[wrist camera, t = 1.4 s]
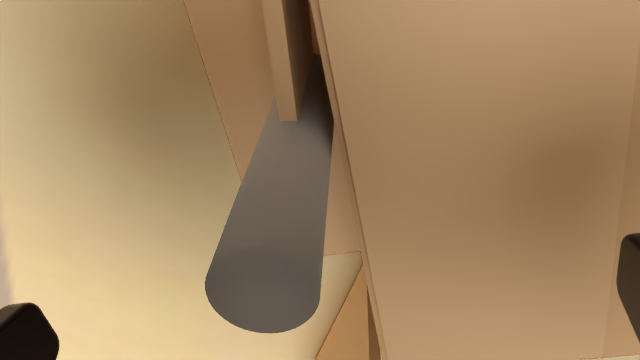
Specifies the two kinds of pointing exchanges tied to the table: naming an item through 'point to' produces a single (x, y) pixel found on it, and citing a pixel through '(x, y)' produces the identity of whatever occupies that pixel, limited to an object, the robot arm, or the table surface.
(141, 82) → the table surface
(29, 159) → the table surface
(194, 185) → the table surface
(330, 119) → the flap
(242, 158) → the carton
